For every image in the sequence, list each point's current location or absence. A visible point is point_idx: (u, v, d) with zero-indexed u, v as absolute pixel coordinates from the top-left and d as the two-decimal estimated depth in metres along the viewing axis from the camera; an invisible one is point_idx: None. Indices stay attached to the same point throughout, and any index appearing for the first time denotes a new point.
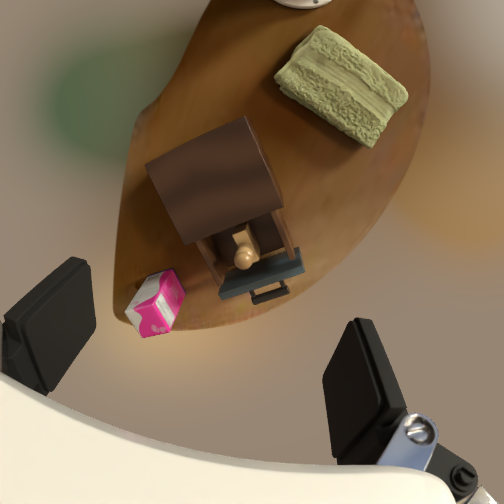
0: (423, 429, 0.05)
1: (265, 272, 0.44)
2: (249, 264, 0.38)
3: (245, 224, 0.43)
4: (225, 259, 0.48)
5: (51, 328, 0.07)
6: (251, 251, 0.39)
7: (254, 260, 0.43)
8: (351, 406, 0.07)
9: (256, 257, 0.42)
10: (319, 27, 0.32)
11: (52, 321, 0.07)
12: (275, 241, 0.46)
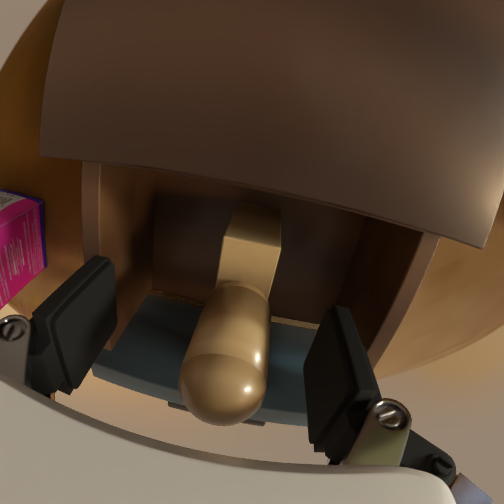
0: (395, 414, 0.06)
1: None
2: (241, 421, 0.07)
3: (276, 222, 0.12)
4: (155, 268, 0.16)
5: (79, 325, 0.07)
6: (268, 354, 0.08)
7: None
8: (325, 391, 0.08)
9: None
10: None
11: (80, 318, 0.07)
12: (306, 302, 0.16)
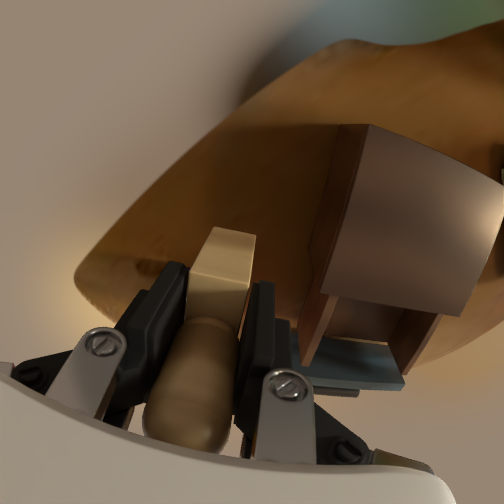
0: (292, 382, 0.07)
1: (358, 370, 0.28)
2: None
3: (249, 251, 0.12)
4: None
5: (166, 333, 0.08)
6: None
7: None
8: (240, 360, 0.08)
9: None
10: None
11: (167, 326, 0.08)
12: (380, 332, 0.30)
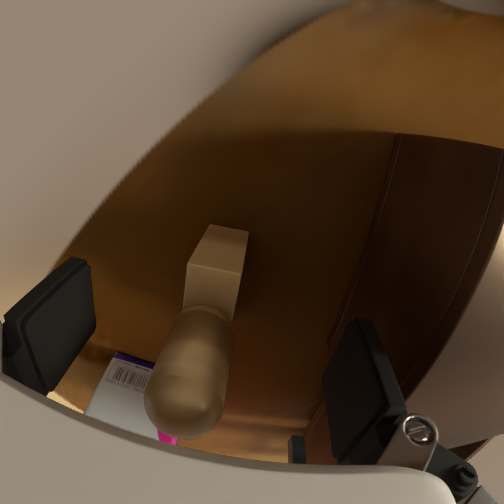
0: (423, 429, 0.05)
1: None
2: (201, 435, 0.07)
3: (242, 245, 0.13)
4: None
5: (51, 328, 0.07)
6: (227, 374, 0.09)
7: None
8: (351, 406, 0.07)
9: None
10: None
11: (52, 321, 0.07)
12: None
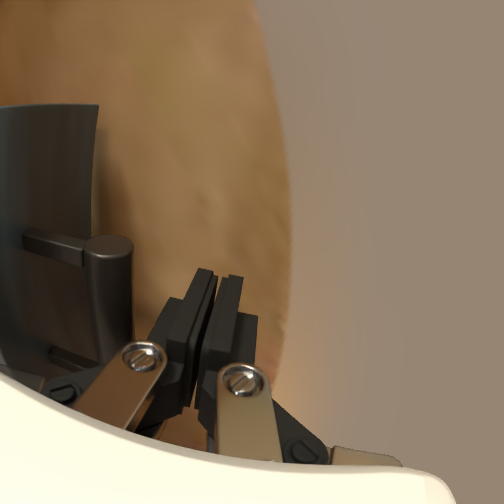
0: (246, 376, 0.07)
1: None
2: None
3: None
4: None
5: (200, 343, 0.08)
6: None
7: None
8: None
9: None
10: None
11: (202, 336, 0.08)
12: None
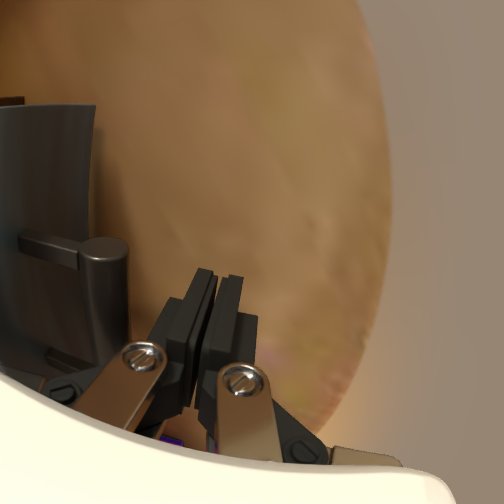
0: (246, 376, 0.07)
1: None
2: None
3: None
4: None
5: (200, 343, 0.08)
6: None
7: None
8: None
9: None
10: None
11: (202, 336, 0.08)
12: None
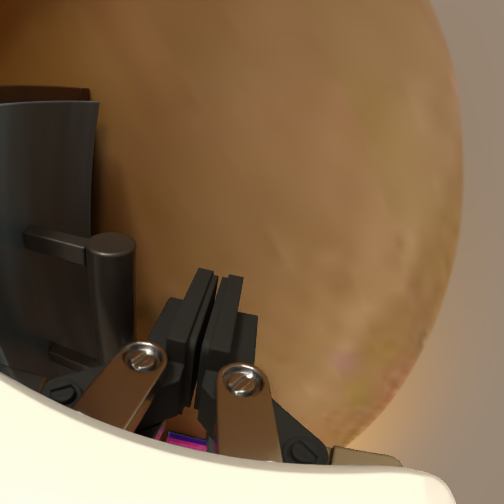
0: (246, 376, 0.07)
1: None
2: None
3: None
4: None
5: (201, 343, 0.08)
6: None
7: None
8: None
9: None
10: None
11: (202, 336, 0.08)
12: None
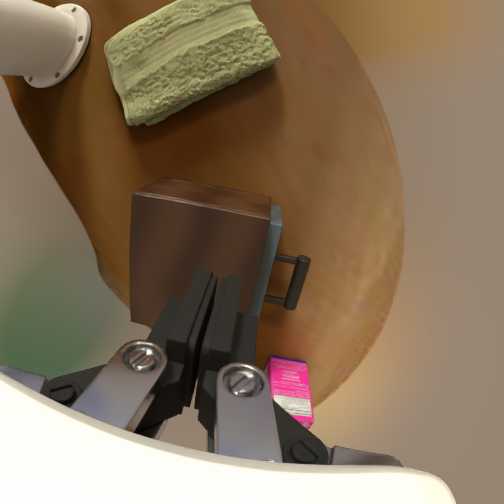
0: (246, 376, 0.07)
1: None
2: None
3: None
4: None
5: (200, 343, 0.08)
6: None
7: None
8: None
9: None
10: (105, 46, 0.24)
11: (202, 336, 0.08)
12: None
